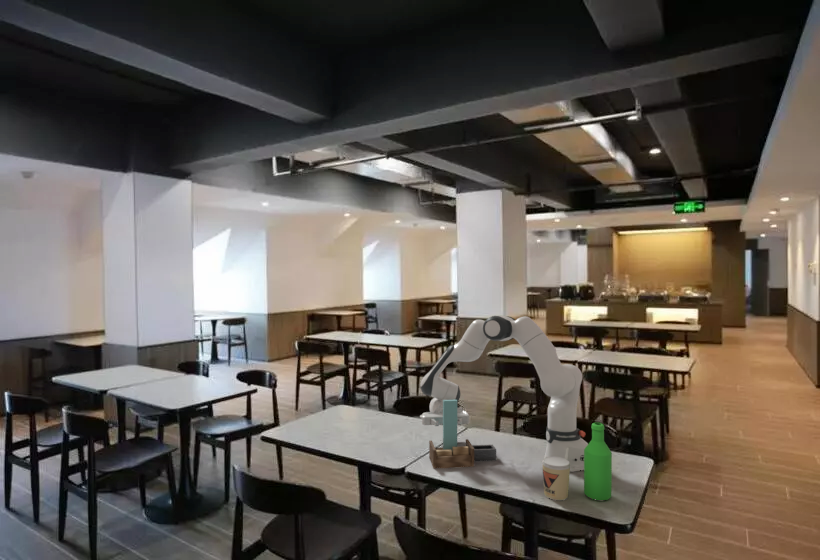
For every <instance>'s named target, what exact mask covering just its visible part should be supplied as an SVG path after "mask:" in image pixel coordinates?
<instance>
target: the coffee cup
mask: <svg viewBox="0 0 820 560" xmlns="http://www.w3.org/2000/svg"><path fill="white" fill-rule="evenodd" d="M541 464H542V479H543V480H542V481H543V482H542V483H543V492H544V497H546V498H547V497H548V498H547V499H549V498H550V499H549V500H551V499H553V500H552V501H556V500H563V501H565V500H564V499H566V498H567V499H568V498H569V497H568V496H569V487H570V473H571V472H570V463H569V461H568V460H566V459H564V458H561V457H554V456H550V457H545V458H544V457H543V459H542V461H541ZM567 499H566V500H567Z"/></svg>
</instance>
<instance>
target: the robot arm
mask: <svg viewBox="0 0 820 560" xmlns="http://www.w3.org/2000/svg"><path fill="white" fill-rule="evenodd" d="M513 339H514V340H515V341H516V342H517V343H518V344H519V345H520V347H521V349H522V350H523V352H524V353H525V354H526V355H527V357H528V358H529V360H530V361H531V362H532V364H533V366H534V369H535V371H536V373H537V376H538V378H539V381H540V382H539V383H540V384H539V385H540V388H541V391H543V393H544V394H545V395H546V396H548V397H550V400H549V403H548V407H547V426H546V432H545V438H546V449H545V454H544V457H543V459H544V458H545V457H550V456H554V457H561V458H564V459H566V460H568V461H569V463H570V473H573V472H580V470H581V471H584V449H585V448H586V446H587V445H588V444H589V442H587V441H586V440H584V439H583V438H585V437H586V432H585V431H584V430H580V429H579V428H577V409H578V408H577V407H578V402H579V396H580V389H581V384H582V381H583V374H582V371H581V369H580V368H579V367H577V365H573V364H570V363H569V364H568V363H565V364H562V363H561V361H560V359H559V357H558V353H557V349H556V347H555V345H553V343H552V341H551V340H550V339H549V337H548V336H547V335H546V333H545V332H544V331H543V329H542V328H541V327H540V326H539V325H538V324H537V323H536V322H535V321H534V320H533V319H532V318H531V317H529V316H525V315H524V316H520V317H518V318H516V319H515V318H513V317H512V316H506V315H492V316H490V317H487V319H485V320H483V319H475V320H473V321H472V322H471V323H470V324H469V326H468V327H467V329H466V330H465V331H464V334H463V335H462V337H461V339H460V340H459V341H458V342H457V343H456V344H452V345H451V344H450V345H449V346H448V347H447V348H446V349H445V350H444V352H443V353H442V354H441V355H440V357H438V359H437V361H436V362H435V363H434V365H432V367H431V368H430V370H428V372H427V373H426V374H425V375H424V376H423V378H422V379H421V381H420V384H419V387H420V391H421V392H422V394H423V395H426V396H428V397H430V398H431V397H432V399H431V400H430V403H429V411H426V412H423V413H422V414H420V415H419V419H421V424H422V425H423V426H434V427H439V426H443V400H457V404H458V402H459V401H460V399H461V389H460V386H459V384H457V383H455V382H454V381H451V380H448V379H446V378H443V377H441V376H440V375H441V374H442V372H443V371H444V369H445V368H446V367H447V365H448V364H450V363H453V362H464V363H470V362H474V361H477V360H479V359H480V357H481V356H482V355H483V352H484V351H485V349H486V346H487V345H488V343H489V342H490V341H494V342H507V341H511V340H513ZM467 424H470V415H469V413H468V411H466V410H465V409H463V407H462V406H460V405H459V406H458V405H457V426H462V425H467Z"/></svg>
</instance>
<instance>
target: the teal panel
mask: <svg viewBox="0 0 820 560" xmlns="http://www.w3.org/2000/svg"><path fill="white" fill-rule="evenodd" d="M457 406H458V403H457V400H443V425H442V447H443V450H447V449H451V450H452V451H453V447H458V425H457Z"/></svg>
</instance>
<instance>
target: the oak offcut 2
mask: <svg viewBox="0 0 820 560" xmlns="http://www.w3.org/2000/svg"><path fill="white" fill-rule="evenodd" d="M453 455H468V446H466V445H465V446H464V445H463V446H457V447H453Z"/></svg>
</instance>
